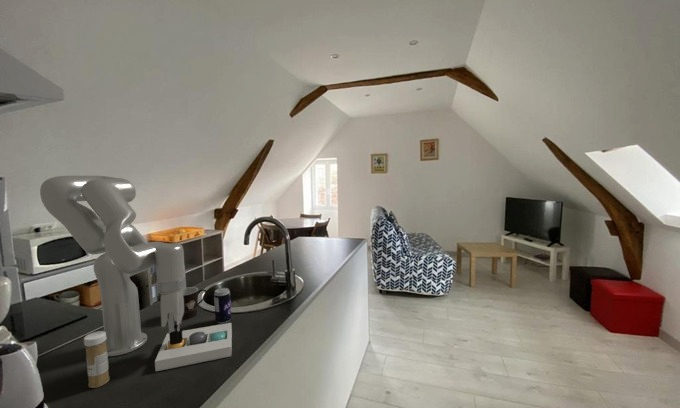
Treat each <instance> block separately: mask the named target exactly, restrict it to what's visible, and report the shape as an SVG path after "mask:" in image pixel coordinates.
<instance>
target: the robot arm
mask: <svg viewBox="0 0 680 408" xmlns="http://www.w3.org/2000/svg"><path fill="white" fill-rule="evenodd" d="M39 189H40V190H39V191H40V193H39V194H40V199H41V202H42V205H43V206H44V208H45V209H46V211H48V213H49V214H50V215H51V216H52V217H53V218H55V219H56V220H57V221H58V222H60V224H62V225H63V226H64V228H65V229H66V230H67V231H68V233H69V234H70V235H71V236H72V238H73V239H74V240H75V241H76V242H77V244H78V245H79V246H80V247H81V248H82V250H84V251H85V253H86V254H89V255H99V256H98V257H97V258H96V259H95V261H94V263H93V272H94V276H95V277H96V281H97V284H98V286H99V287H98V288H99V293H100V302H101V310H102V313H101V314H102V323H103V331H104V332H106V338H107V339H106V346H107V354H108V357H115V356H116V357H117V356H121V355H122V356H123V355H124V354H128V353H131V352H134V351H135V350H137V349H139V348H141V347H142V346H144V345H145V343H147V341H148V335H147V333H144V332H142V327H141V315H140V303H139V291H138V287H137V286H136V284H135V283H134V282H133V281H132V280H131V278H130V277H133V276H134V275H137V274H139V273H143V272H145V271H148V270H150V269H151V268H154V267H155V272H156V283H157V284H156V286H157V293H158V294H160V326H161V328H165V327H166V326H167V325H168V333H169V336H170V344H171V345H172V344H178V343H181V342H182V340H183V337H182V331H183V328H182V317H183V314H184V297H183V290H184V289H185V288H187V281H186V280H187V279H186V266H185V252H184V251H185V250H184V246H183V245H182V244H180V243H167V242H162V241H152V242H148V240H146V239H145V237H144V236H143V235H142V233H140V231H139V230H138V229H137V228H136V227H135V226H134V225H133V224H132V223H133V222H134V221H135V219H136V217H137V213H136V211H135V210H134V209H133V207H132V206H131V205H130V204H129V203H131V202H132V201H133V200H134V199H135V198H136V195H137V191H136V188H135V186H134V184H133V183H132V182H131V181H130V180H128V179H126V178H122V177H121V178H120V177H112V176H104V175H59V176H57V175H56V176H52V177H49V178H48V179H45V180H44V181H43V182H42V184H41V186H40V188H39ZM79 202H87V204H88V206H89V207H90V208H89V207H87V206H85V205H83V204H80V203H79Z"/></svg>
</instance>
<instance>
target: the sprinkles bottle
mask: <svg viewBox="0 0 680 408" xmlns="http://www.w3.org/2000/svg"><path fill="white" fill-rule="evenodd" d="M106 339H107V338H106V332H104V330H99V331H94V332H90V333H89V334H87V335H85V336H84V338H83V345H84V347H85V354H86V357H85V360H86V369H87V372H86V373H87V377H88V384H87V385H88V388H90V389H97V388H100V387H101V386H104V385H106V384H107V383H109V381H110V379H111V377H110V372H109V356H108V354H107V346H106Z"/></svg>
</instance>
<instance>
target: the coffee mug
mask: <svg viewBox="0 0 680 408" xmlns="http://www.w3.org/2000/svg"><path fill="white" fill-rule="evenodd" d="M203 291H204V293H205V294H204V296H203V298H201V300H199V294H200V293H201V292H203ZM207 296H208V292H207V290H206V289H205V288H204V289H200V290H199V288H198V287H196V286H195V287H194V286H191V287H189V286H188V287H186V288H185V289H184V290H183V297H184V314H183V317H182V320H189V319H193V318H195V317H196V316H197V315H198V307H199V305H200V304H201V303H203V301H204V300H205V299H206V297H207ZM198 301H199V302H198ZM182 320H181V321H182Z"/></svg>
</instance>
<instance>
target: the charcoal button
mask: <svg viewBox="0 0 680 408" xmlns="http://www.w3.org/2000/svg"><path fill="white" fill-rule="evenodd" d="M189 338H190V346H191V345H196V344H202V343H205V333H204V332H196V333H193V334H191V335H190V337H189Z"/></svg>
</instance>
